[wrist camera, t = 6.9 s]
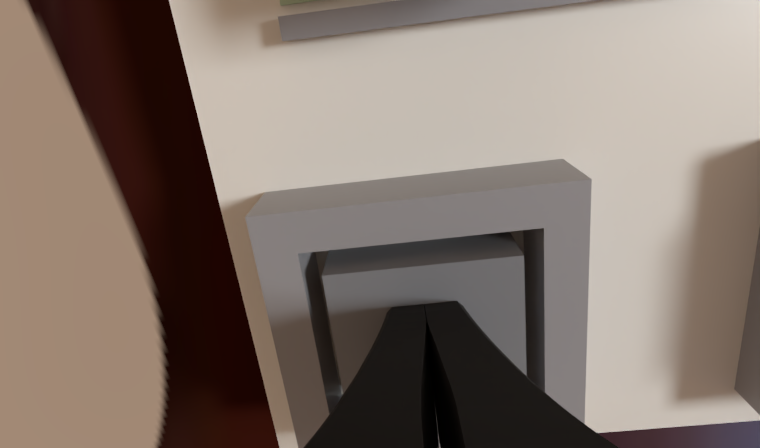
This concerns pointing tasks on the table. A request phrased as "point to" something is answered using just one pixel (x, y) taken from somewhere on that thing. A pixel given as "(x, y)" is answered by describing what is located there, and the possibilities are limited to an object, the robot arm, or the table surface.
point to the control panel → (499, 182)
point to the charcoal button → (425, 290)
